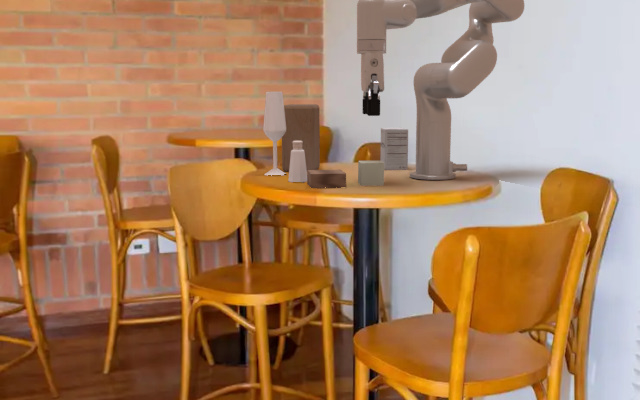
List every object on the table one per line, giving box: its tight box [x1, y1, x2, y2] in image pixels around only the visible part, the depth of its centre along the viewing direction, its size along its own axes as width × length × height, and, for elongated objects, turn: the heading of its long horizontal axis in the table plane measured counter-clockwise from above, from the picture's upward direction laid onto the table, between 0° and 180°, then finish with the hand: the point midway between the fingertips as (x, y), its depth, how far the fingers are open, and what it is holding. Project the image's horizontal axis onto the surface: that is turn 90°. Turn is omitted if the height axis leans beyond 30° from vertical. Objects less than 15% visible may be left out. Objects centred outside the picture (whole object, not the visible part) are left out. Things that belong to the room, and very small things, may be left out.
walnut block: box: [306, 169, 347, 189], centre depth 185 cm, size 9×9×4 cm
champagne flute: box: [262, 91, 287, 177], centre depth 207 cm, size 7×7×24 cm
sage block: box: [357, 160, 385, 187], centre depth 188 cm, size 6×6×6 cm
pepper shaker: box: [288, 141, 307, 183], centre depth 193 cm, size 5×5×11 cm
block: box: [281, 103, 321, 172], centre depth 218 cm, size 10×10×20 cm
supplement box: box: [379, 127, 409, 171], centre depth 221 cm, size 7×7×13 cm
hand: (371, 114), depth 185 cm, fingers open, 9 cm apart
